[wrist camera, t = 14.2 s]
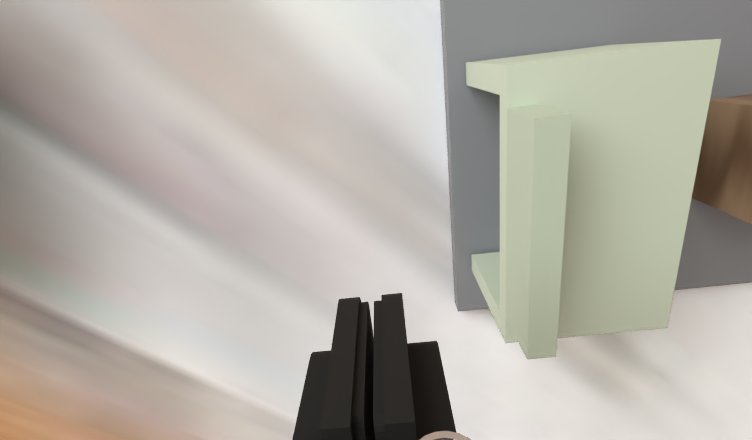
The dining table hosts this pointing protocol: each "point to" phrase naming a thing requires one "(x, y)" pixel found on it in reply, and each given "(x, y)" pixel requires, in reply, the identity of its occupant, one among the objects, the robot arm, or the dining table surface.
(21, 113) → the dining table surface
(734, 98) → the wooden crate
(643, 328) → the cover
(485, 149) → the board
